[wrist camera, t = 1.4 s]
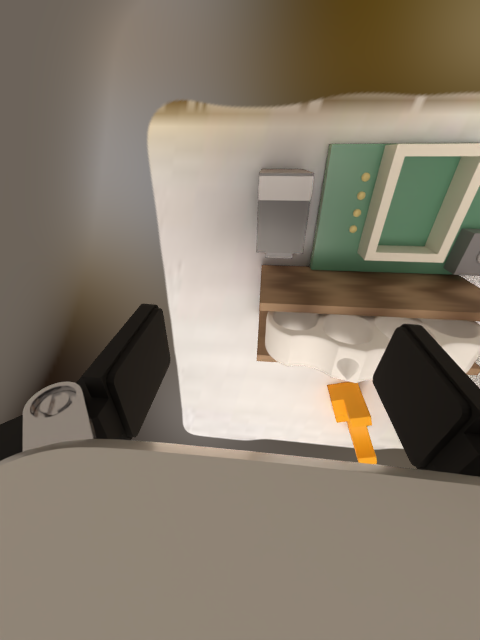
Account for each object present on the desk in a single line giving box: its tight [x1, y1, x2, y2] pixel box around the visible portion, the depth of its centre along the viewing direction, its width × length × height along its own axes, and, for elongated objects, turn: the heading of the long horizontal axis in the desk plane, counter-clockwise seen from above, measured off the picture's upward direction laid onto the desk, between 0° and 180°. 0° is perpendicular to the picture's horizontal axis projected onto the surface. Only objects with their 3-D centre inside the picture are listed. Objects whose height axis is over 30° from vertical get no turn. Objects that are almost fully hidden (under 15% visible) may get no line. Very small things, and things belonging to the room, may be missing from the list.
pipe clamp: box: [327, 382, 377, 464], centre depth 39 cm, size 12×4×6 cm, turn 20°
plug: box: [256, 169, 314, 259], centre depth 23 cm, size 4×7×7 cm, turn 0°
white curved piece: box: [265, 311, 480, 383], centre depth 24 cm, size 3×18×15 cm, turn 90°
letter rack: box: [257, 265, 480, 375], centre depth 26 cm, size 21×7×9 cm, turn 90°
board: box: [310, 143, 480, 276], centre depth 23 cm, size 18×11×4 cm, turn 90°
